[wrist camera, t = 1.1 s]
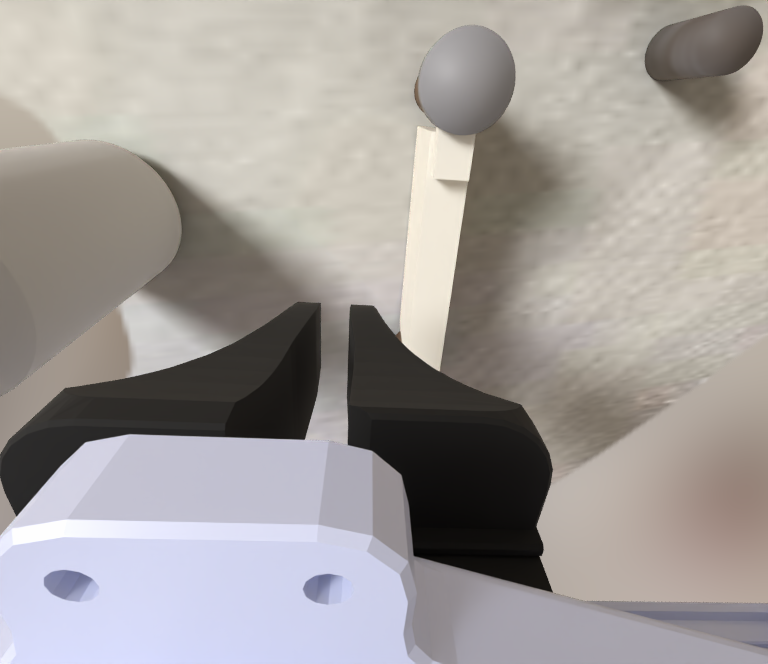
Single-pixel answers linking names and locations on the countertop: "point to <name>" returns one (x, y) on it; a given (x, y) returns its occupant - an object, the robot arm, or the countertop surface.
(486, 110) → the gate
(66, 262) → the beverage can
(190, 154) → the countertop surface
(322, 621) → the robot arm
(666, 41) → the posts
